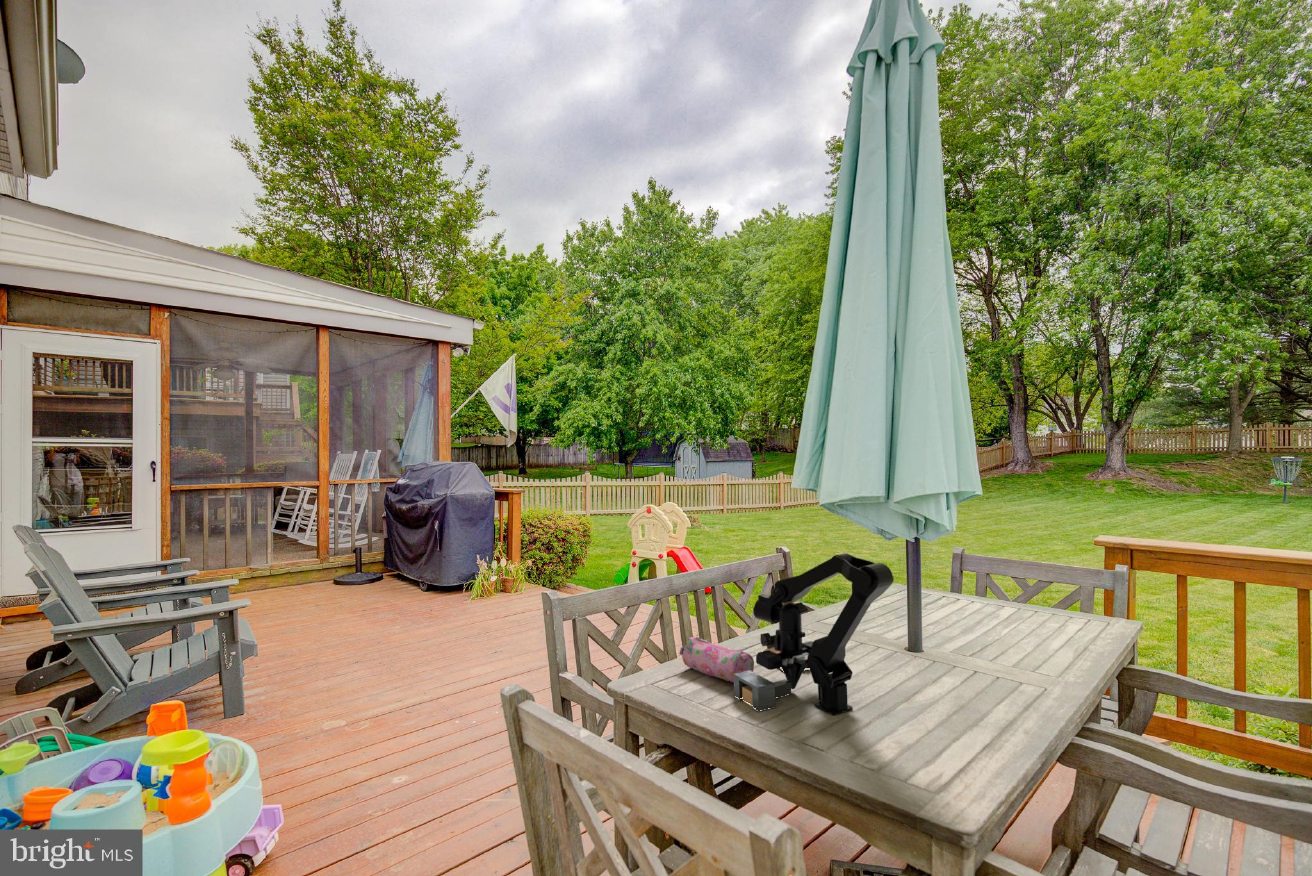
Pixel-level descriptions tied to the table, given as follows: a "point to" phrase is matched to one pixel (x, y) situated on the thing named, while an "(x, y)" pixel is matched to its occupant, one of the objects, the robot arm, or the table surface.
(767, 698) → the grey arch block
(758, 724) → the table surface
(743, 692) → the plug
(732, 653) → the pencil case
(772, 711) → the table surface
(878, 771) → the table surface
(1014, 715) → the table surface
